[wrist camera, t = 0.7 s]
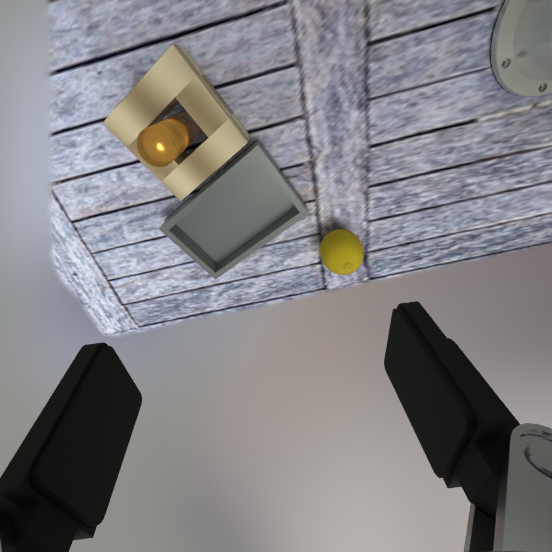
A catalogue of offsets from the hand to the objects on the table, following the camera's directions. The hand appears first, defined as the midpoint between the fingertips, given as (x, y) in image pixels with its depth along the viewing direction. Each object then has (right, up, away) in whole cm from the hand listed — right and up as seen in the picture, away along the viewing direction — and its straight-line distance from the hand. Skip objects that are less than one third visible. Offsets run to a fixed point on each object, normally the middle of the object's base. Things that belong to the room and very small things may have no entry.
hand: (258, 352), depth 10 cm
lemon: (+9, +8, +32) cm, 35 cm away
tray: (-5, +11, +29) cm, 32 cm away
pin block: (-10, +20, +23) cm, 32 cm away
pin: (-10, +20, +23) cm, 32 cm away
